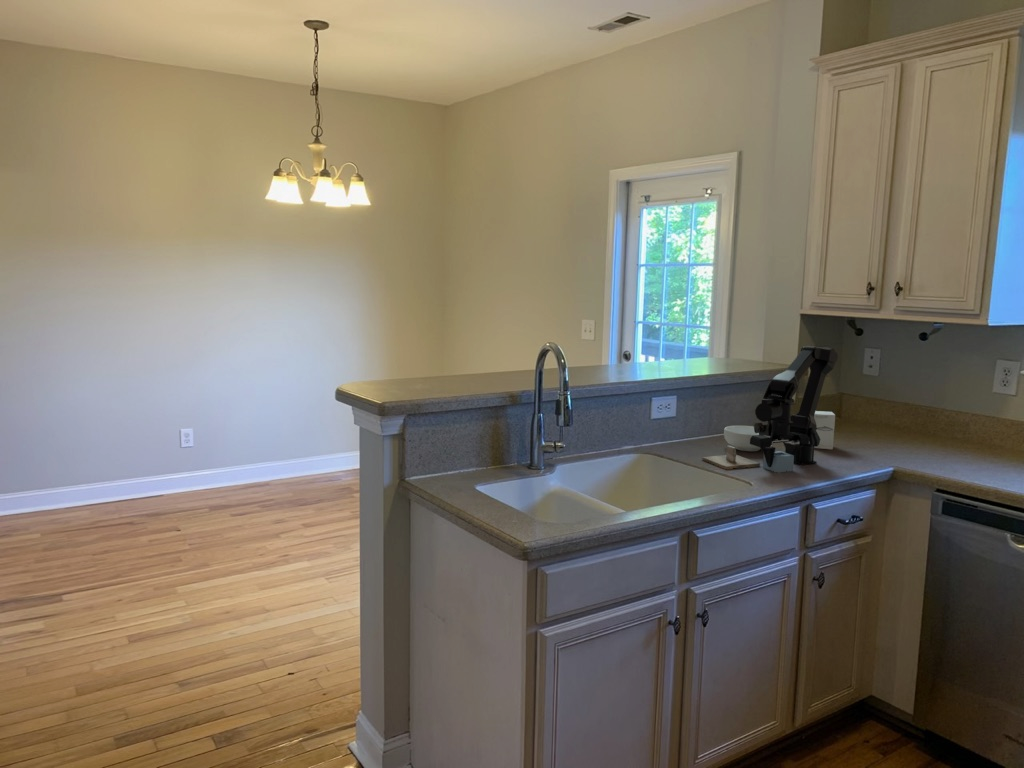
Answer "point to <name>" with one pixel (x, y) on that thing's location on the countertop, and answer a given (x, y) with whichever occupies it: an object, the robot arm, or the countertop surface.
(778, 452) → the blue-grey square socket block
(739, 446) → the cereal bowl
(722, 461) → the wooden peg base
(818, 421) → the supplement box
